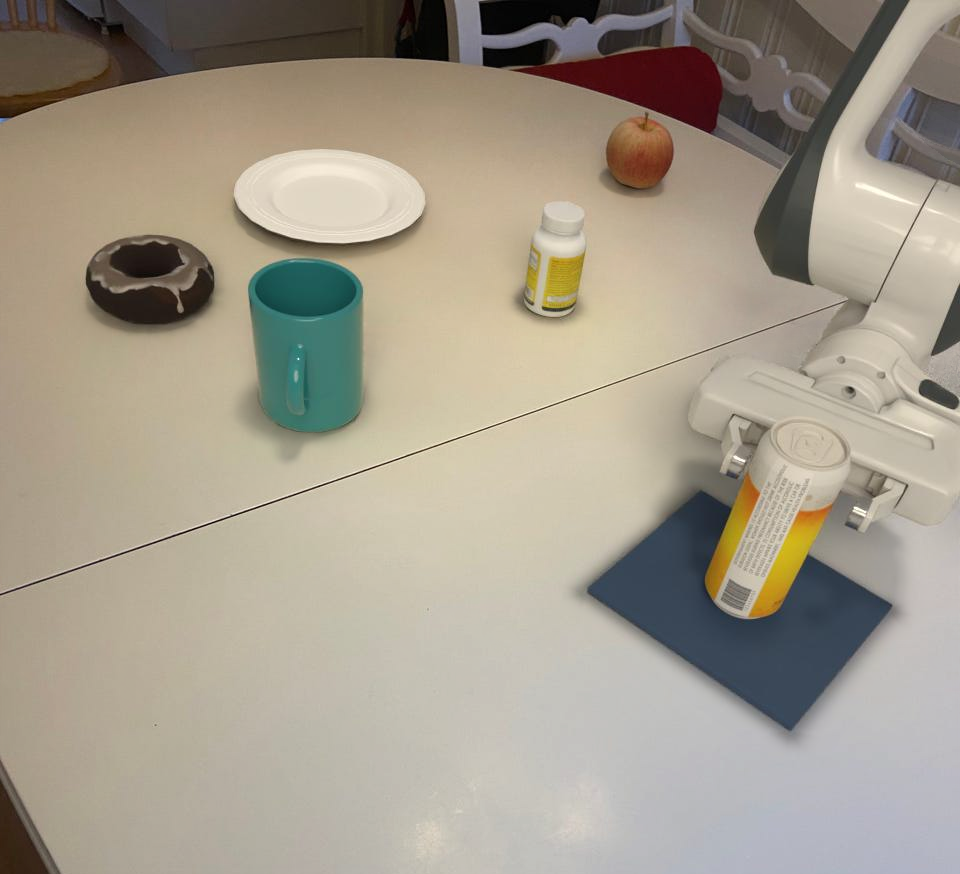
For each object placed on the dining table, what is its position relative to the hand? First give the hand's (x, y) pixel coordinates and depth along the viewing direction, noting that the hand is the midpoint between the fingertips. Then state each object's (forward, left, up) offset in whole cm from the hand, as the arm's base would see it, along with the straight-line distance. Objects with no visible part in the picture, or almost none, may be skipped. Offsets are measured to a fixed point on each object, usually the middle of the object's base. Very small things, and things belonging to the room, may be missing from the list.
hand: (793, 495), depth 67 cm
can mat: (0, +2, -10) cm, 10 cm away
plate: (+64, -15, -10) cm, 66 cm away
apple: (+46, -48, -10) cm, 68 cm away
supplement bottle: (+36, -19, -10) cm, 42 cm away
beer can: (0, +2, -9) cm, 10 cm away
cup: (+39, +11, -10) cm, 42 cm away
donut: (+62, +10, -10) cm, 63 cm away
